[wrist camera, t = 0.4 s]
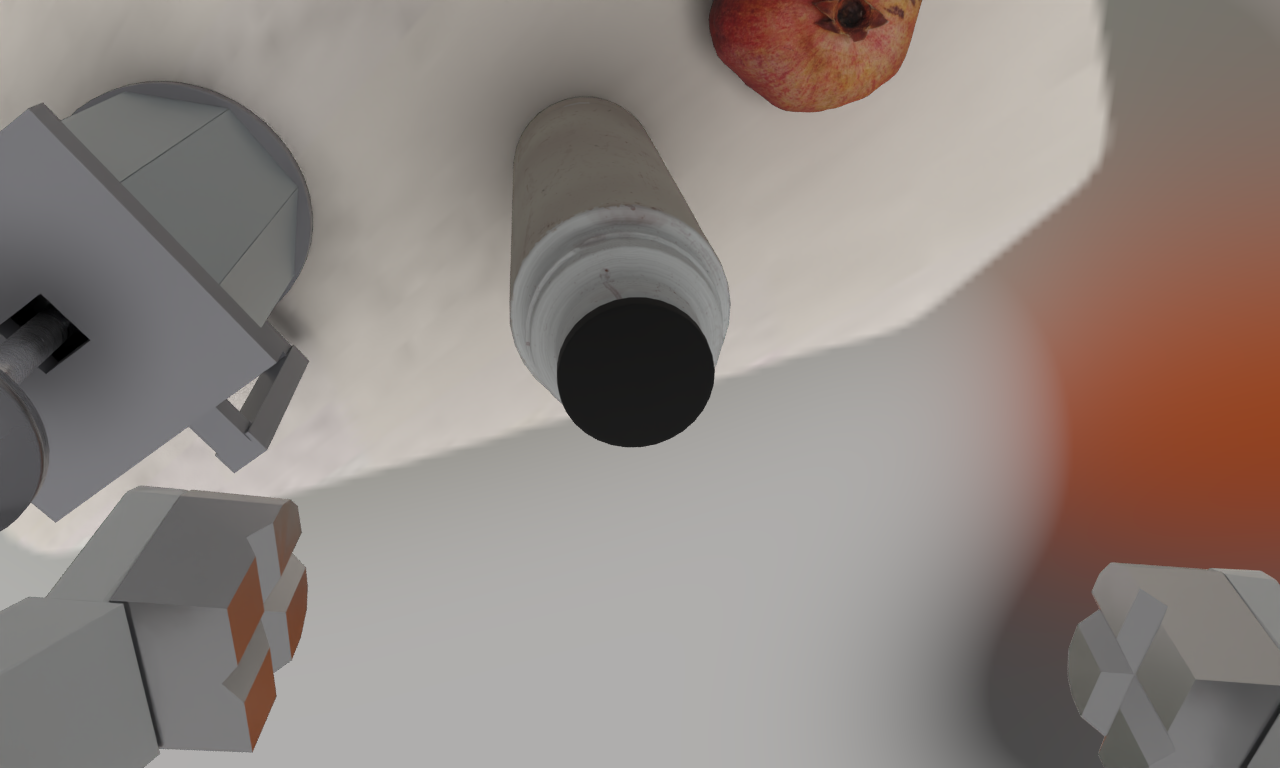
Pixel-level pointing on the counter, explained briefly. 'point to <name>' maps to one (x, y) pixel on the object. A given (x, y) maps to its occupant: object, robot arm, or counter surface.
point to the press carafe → (152, 276)
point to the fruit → (813, 47)
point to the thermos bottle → (611, 277)
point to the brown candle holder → (27, 402)
